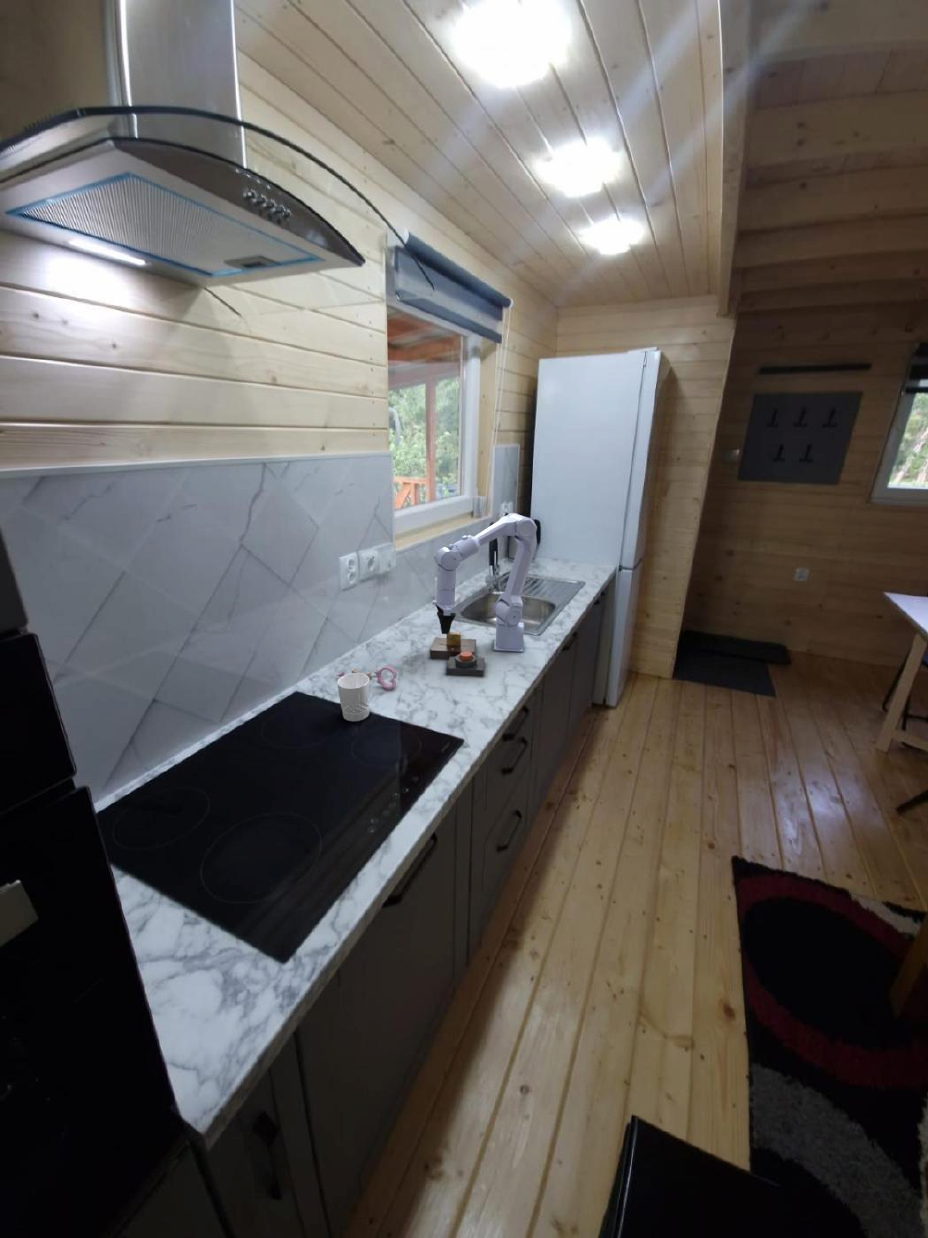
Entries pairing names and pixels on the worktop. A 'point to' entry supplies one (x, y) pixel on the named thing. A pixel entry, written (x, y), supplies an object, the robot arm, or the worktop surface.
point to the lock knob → (453, 638)
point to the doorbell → (465, 666)
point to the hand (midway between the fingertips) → (444, 628)
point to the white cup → (354, 696)
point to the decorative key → (378, 676)
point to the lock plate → (450, 648)
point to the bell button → (466, 656)
